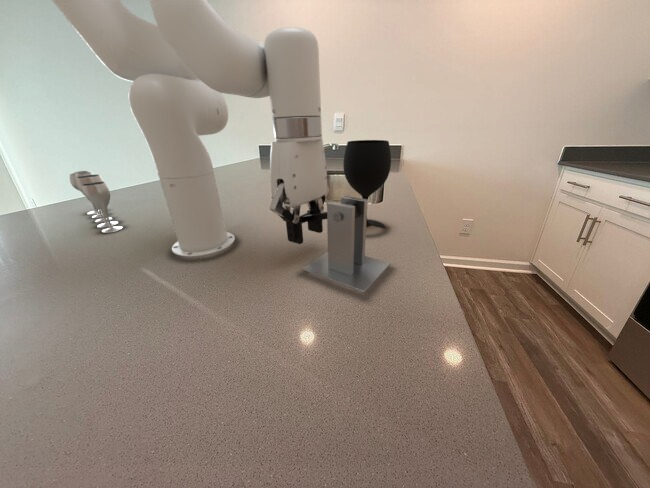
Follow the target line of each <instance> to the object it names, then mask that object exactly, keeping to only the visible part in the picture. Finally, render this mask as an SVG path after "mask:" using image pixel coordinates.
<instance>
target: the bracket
mask: <svg viewBox="0 0 650 488" xmlns="http://www.w3.org/2000/svg"><path fill="white" fill-rule="evenodd" d="M354 202H356V203H357V207H358V211H359V215H360V217H358V218H357V219H355V206H352V205H346V204H348V203H354ZM326 212H327V219H326V220H327V222H326V223H327V227H326V228H327V251H326V252H325V253H323V254H322V255H320V256H319V257H317V258H315V259H314V260H312V261H311V262H310V263H308V264H307V265H305V266H304V267H302V268H301V270H302V271H305V272H307V273H310V274H313V275H315V276H318V277H321V278H323V279H326V280H329V281H331V282H334V283H337V284H340V285H342V286H345V287H348V288H350V289H353V290H356V291H359V292H361V293H365V292H366V291H367V290H368V289H369V288H370V287H371V286H372V285H373V284H374V283H375V281H377V279H378V278H379V277H380V276H381V275H382V274H383V273H384V272H385V271H386V270H387V269H388V267H389V266H391V263H390V262H388V261H383V260H380V259H378V258H373V257H369V256H367V255H366V241H367V240H366V239H367V238H366V237H367V227H366V220H368V203H367V199H362V197H361V198H360V197H355V196H354V197H353V196H348V195H347V196H346V195H343V196H341V197H340V202H336V201H335V202H334V201H329V202H326Z"/></svg>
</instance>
